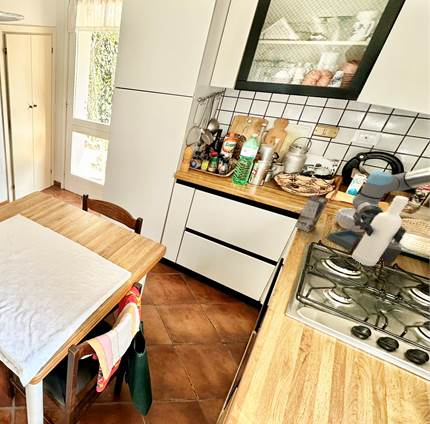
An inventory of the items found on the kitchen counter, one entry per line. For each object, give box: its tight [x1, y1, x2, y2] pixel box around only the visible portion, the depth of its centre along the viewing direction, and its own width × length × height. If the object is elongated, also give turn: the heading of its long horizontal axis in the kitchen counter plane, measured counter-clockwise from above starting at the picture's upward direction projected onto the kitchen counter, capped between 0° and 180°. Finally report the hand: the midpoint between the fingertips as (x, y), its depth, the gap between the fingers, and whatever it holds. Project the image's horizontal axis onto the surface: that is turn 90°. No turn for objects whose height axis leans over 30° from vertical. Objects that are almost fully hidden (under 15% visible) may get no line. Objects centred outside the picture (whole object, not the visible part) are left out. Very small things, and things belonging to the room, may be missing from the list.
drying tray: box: [327, 229, 364, 251], centre depth 144 cm, size 14×14×3 cm
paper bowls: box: [334, 207, 366, 233], centre depth 156 cm, size 15×15×8 cm
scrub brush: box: [347, 237, 402, 268], centre depth 132 cm, size 14×3×9 cm, turn 58°
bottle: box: [350, 195, 410, 267], centre depth 123 cm, size 8×8×30 cm
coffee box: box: [294, 195, 329, 233], centre depth 154 cm, size 9×6×16 cm
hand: (384, 236), depth 119 cm, fingers closed on bottle, 8 cm apart
